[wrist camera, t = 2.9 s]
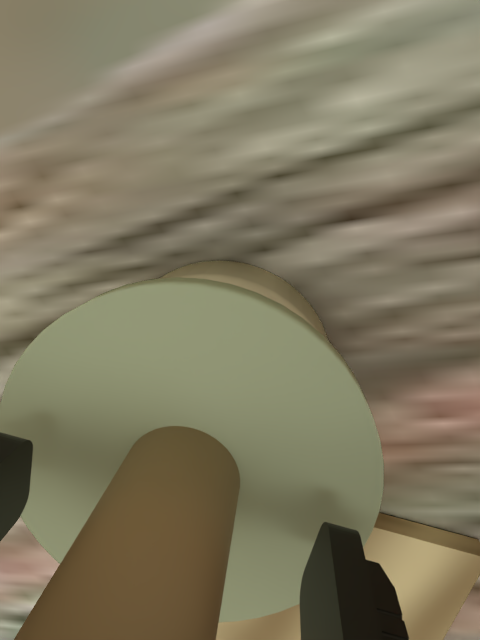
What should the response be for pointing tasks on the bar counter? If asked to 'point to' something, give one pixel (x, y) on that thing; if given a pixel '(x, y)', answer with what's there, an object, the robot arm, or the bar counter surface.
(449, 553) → the mat
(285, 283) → the crock
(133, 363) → the lid
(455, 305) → the bar counter surface
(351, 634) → the robot arm
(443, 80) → the bar counter surface
